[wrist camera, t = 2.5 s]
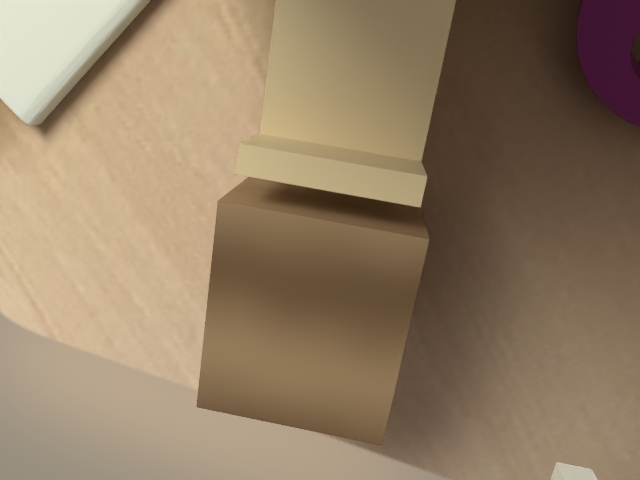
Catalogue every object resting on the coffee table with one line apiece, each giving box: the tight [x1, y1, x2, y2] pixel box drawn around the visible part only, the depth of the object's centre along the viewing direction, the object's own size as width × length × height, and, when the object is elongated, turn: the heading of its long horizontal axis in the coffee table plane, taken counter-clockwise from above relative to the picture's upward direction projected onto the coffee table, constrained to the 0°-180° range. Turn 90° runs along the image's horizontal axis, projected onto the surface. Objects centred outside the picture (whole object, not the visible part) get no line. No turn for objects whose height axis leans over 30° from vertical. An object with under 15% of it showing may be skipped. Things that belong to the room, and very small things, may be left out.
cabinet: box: [197, 177, 429, 445], centre depth 24 cm, size 9×7×10 cm
